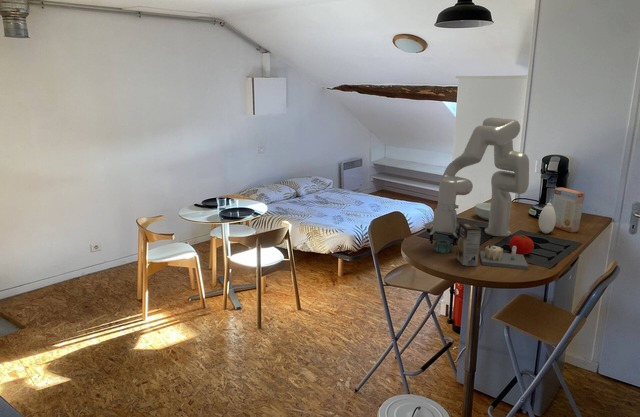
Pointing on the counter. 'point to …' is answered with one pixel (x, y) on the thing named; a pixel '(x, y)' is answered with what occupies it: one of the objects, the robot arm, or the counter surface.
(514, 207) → the counter surface
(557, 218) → the cracker box
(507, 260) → the gear board
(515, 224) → the counter surface
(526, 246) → the tomato
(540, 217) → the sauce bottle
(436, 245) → the teal gear
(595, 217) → the counter surface
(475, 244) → the brown printed box
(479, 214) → the cereal bowl
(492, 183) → the robot arm
